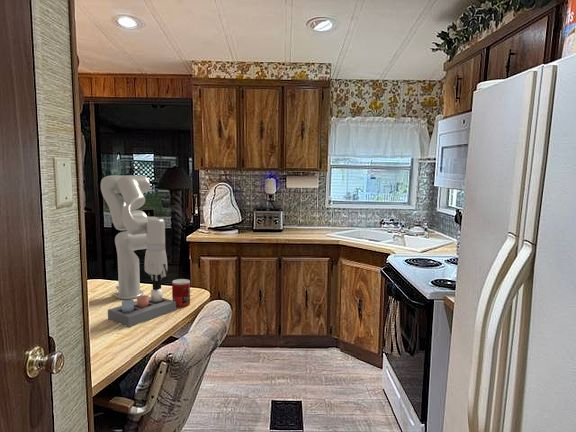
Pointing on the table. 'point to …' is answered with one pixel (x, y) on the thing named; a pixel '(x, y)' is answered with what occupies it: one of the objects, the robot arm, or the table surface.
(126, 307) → the pale blue rounded dome
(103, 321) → the table surface
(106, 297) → the table surface
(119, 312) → the grey slotted tray
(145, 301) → the pink rounded dome
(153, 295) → the white dome button
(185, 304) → the canned food
